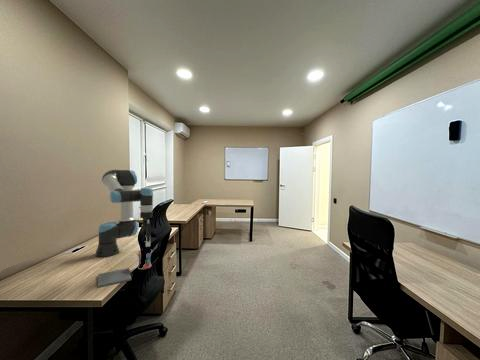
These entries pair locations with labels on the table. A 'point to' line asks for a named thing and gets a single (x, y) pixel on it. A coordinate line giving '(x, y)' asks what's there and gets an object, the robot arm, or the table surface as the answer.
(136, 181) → the robot arm
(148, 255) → the mug
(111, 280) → the slate board
